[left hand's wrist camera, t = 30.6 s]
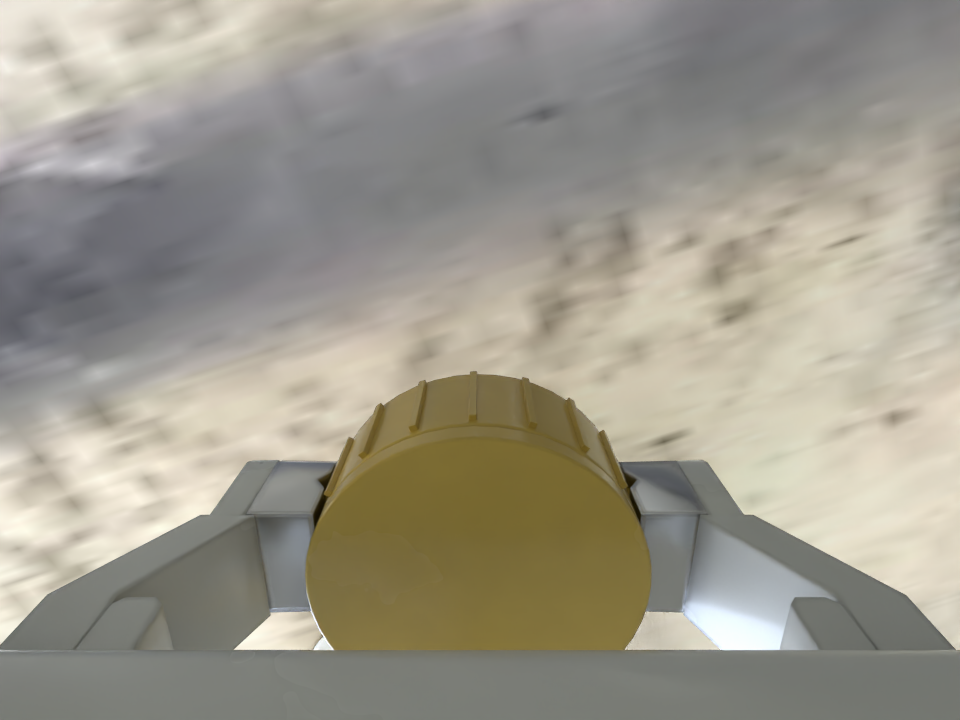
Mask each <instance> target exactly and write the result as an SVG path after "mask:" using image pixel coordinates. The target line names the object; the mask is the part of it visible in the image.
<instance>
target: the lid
mask: <svg viewBox="0 0 960 720" xmlns="http://www.w3.org/2000/svg"><path fill="white" fill-rule="evenodd" d="M629 494H630V488H628V485H627V483H626V480H625V478H624V475H623V473H622V470H621V468H620V466H619V463H618V461H617V458H616V456H615V454H614V451H613V449H612V446H611V444H610V442H609V439H608V437H607V434H606V433H605V431H604V430H602V431H600V432H599V431H598V430H597V428H596V427H595V425H594V424H593V423H592V422H591V421H590V420H589V419H588V418H587V417H586V416H585V415H584V414H583V413H582V412H581V411H580V410H579V409H577V408H576V406H575V403H574V401H573V400H572V399H570V398H568V399H567V400H565V399H564V398H562V397H560V396H559V395H557V394H555V393H554V392H552V391H550V390H547V389H545V388H543V387H540V386H538V385H536V384H533V383H530V382H529V379H528V378H524V377H522V380H519V379H516V378H511V377H505V376H498V375H483V374H477V371H473V372H470V375H459V376H452V377H447V378H442V379H437V380H434V381H431V382H428V383H426V381H425V380H423V381H420V382H419V385H418V386H416V387H414V388H412V389H410V390H408V391H406V392H404V393H402V394H400V395H398V396H397V397H395V398H394V399H392V400H391V401H389V402H388V403H386V404H385V405H382V404H381V403H380V404H379V405H377V406H376V408H375V411H374V414H373V415H372V416H371V417H370V418H369V419H368V420H367V421H366V423H365V424H364V425H363V426H362V427H361V428H360V430H359V431H358V433H357V434H356V436H355V437H354V439H352V438H350V437H349V438H348V440H347V441H346V443H345V446H344V448H343V450H342V453H341V455H340V457H339V460H338V462H337V464H336V467H335V469H334V471H333V474H332V476H331V478H330V481H329V483H328V485H327V488H326V490H325V493H324V495H326V497H325V499H326V503H325V505H324V508H323V510H322V512H321V515H320V517H319V520H318V522H317V525H316V527H315V529H314V532H313V534H312V537H311V540H310V544H309V548H308V552H307V556H306V568H305V580H306V592H307V596H308V600H309V604H310V608H311V612H312V614H313V617H314V619H315V621H316V624H317V626H318V628H319V630H320V631H321V633H322V635H323V636H324V638H325V640H326V641H327V643H328V644H329V645H330V647H331V648H332V649H333V650H624V649H625V648H626V646H627V645H628V644H629V642H630V641H631V640H632V638H633V637H634V635H635V633H636V631H637V629H638V627H639V626H640V624H641V622H642V619H643V616H644V614H645V611H646V608H647V605H648V600H649V595H650V590H651V575H652V566H651V559H650V553H649V548H648V544H647V541H646V538H645V535H644V532H643V529H642V527H641V524H640V522H639V520H638V517H637V515H636V512H635V510H634V507H633V505H632V502H631V500H630V497H629Z"/></svg>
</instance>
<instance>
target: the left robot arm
mask: <svg viewBox="0 0 960 720" xmlns="http://www.w3.org/2000/svg"><path fill="white" fill-rule="evenodd" d="M618 463H619V466H620V468H621V470H622V473H623V475H624V478H625V480H626V483H627V485H628V488H630V494H629V497H630V500H631V502H632V505H633V507H634V510H635V512H636V515H637V517H638V520H639V522H640V524H641V527H642V529H643V532H644V535H645V538H646V541H647V544H648V548H649V553H650V559H651V566H652V575H651V590H650V595H649V600H648V605H647V608H646V611H652V612H684V616H686V617H687V618H688V619H689V620H690V621H691V622H692V623H693V624H694V625H695V626H696V627H697V628H698V629H699V630H700V631H702V632H703V633H704V634H705V635H706V636H707V637H708V638H709V639H710V640H711V641H712V642H713V643H714V644H715V645H717V646H718V647H719V648H720V649H721V650H333V649H332V648H331V647H330V645H329V644H328V643H327V641H326V640H325V638H324V636H323V637H322V638H321V639H320V641H319V642H318V643H317V645H316V646H315V648H314V649H313V650H233V649H235V648H236V647H237V646H238V645H239V644H240V643H241V642H242V641H243V640H244V639H245V638H246V637H248V636H249V635H250V634H251V633H252V632H253V631H254V630H255V629H256V628H257V627H258V626H259V625H261V624H262V623H263V622H264V621H265V620H266V619H267V618H268V617H269V616H270V612H302V611H311V608H310V604H309V600H308V596H307V592H306V580H305V568H306V556H307V552H308V548H309V544H310V540H311V537H312V534H313V532H314V529H315V527H316V525H317V522H318V520H319V517H320V515H321V512H322V510H323V508H324V505H325V503H326V499H325V497H326V495H324V493H325V490H326V488H327V485H328V483H329V481H330V478H331V476H332V474H333V471H334V469H335V467H336V464H337V462H335V461H283V460H282V461H279V460H253V461H249V462H247V463H246V465H245V466H244V467H243V469H242V470H241V472H240V473H239V474H238V476H237V477H236V479H235V480H234V482H233V483H232V484H231V486H230V487H229V489H228V490H227V491H226V493H225V494H224V496H223V497H222V499H221V500H220V501H219V503H218V504H217V506H216V507H215V508H214V510H213V511H212V513H211V514H210V515H200V516H198V517H196V518H194V519H192V520H190V521H188V522H186V523H184V524H182V525H180V526H178V527H177V528H175V529H173V530H171V531H169V532H167V533H165V534H163V535H161V536H159V537H157V538H155V539H153V540H151V541H150V542H148V543H146V544H144V545H142V546H140V547H138V548H136V549H134V550H132V551H130V552H128V553H126V554H125V555H123V556H121V557H119V558H117V559H115V560H113V561H111V562H109V563H107V564H105V565H103V566H101V567H100V568H98V569H96V570H94V571H92V572H90V573H88V574H86V575H84V576H82V577H80V578H78V579H76V580H74V581H73V582H71V583H69V584H67V585H65V586H63V587H61V588H59V589H57V590H55V591H53V592H51V593H49V594H48V595H47V596H46V597H45V598H44V599H43V600H42V601H41V602H40V603H39V604H38V605H37V606H36V607H35V608H34V609H33V611H32V612H31V613H30V614H29V615H28V616H27V617H26V618H25V619H24V620H23V621H22V622H21V623H20V624H19V626H18V627H17V628H16V629H15V630H14V631H13V632H12V633H11V634H10V635H9V636H8V637H7V638H6V639H5V641H4V642H3V643H2V644H1V645H0V720H960V650H956V649H955V648H954V647H953V646H952V645H951V644H950V643H949V642H948V641H947V640H946V638H945V637H944V636H943V635H942V634H941V633H940V632H939V631H938V630H937V629H936V628H935V626H934V625H933V624H932V623H931V622H930V621H929V620H928V619H927V618H926V617H925V615H924V614H923V613H922V612H921V611H920V610H919V609H918V608H917V607H916V606H915V604H914V603H913V602H912V601H911V600H910V599H909V598H908V597H907V596H906V595H904V594H903V593H901V592H899V591H897V590H895V589H893V588H891V587H889V586H887V585H885V584H884V583H882V582H880V581H878V580H876V579H874V578H872V577H870V576H868V575H866V574H865V573H863V572H861V571H859V570H857V569H855V568H853V567H851V566H849V565H847V564H846V563H844V562H842V561H840V560H838V559H836V558H834V557H832V556H830V555H828V554H827V553H825V552H823V551H821V550H819V549H817V548H815V547H813V546H811V545H809V544H808V543H806V542H804V541H802V540H800V539H798V538H796V537H794V536H792V535H790V534H789V533H787V532H785V531H783V530H781V529H779V528H777V527H775V526H773V525H771V524H770V523H768V522H766V521H764V520H762V519H760V518H758V517H756V516H754V515H744V514H743V513H742V511H741V510H740V508H739V507H738V506H737V504H736V503H735V501H734V500H733V498H732V497H731V495H730V494H729V493H728V491H727V490H726V488H725V487H724V485H723V484H722V483H721V481H720V480H719V478H718V477H717V475H716V474H715V473H714V471H713V470H712V468H711V467H710V465H709V464H708V463H707V462H706V461H704V460H685V461H646V462H618Z"/></svg>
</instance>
